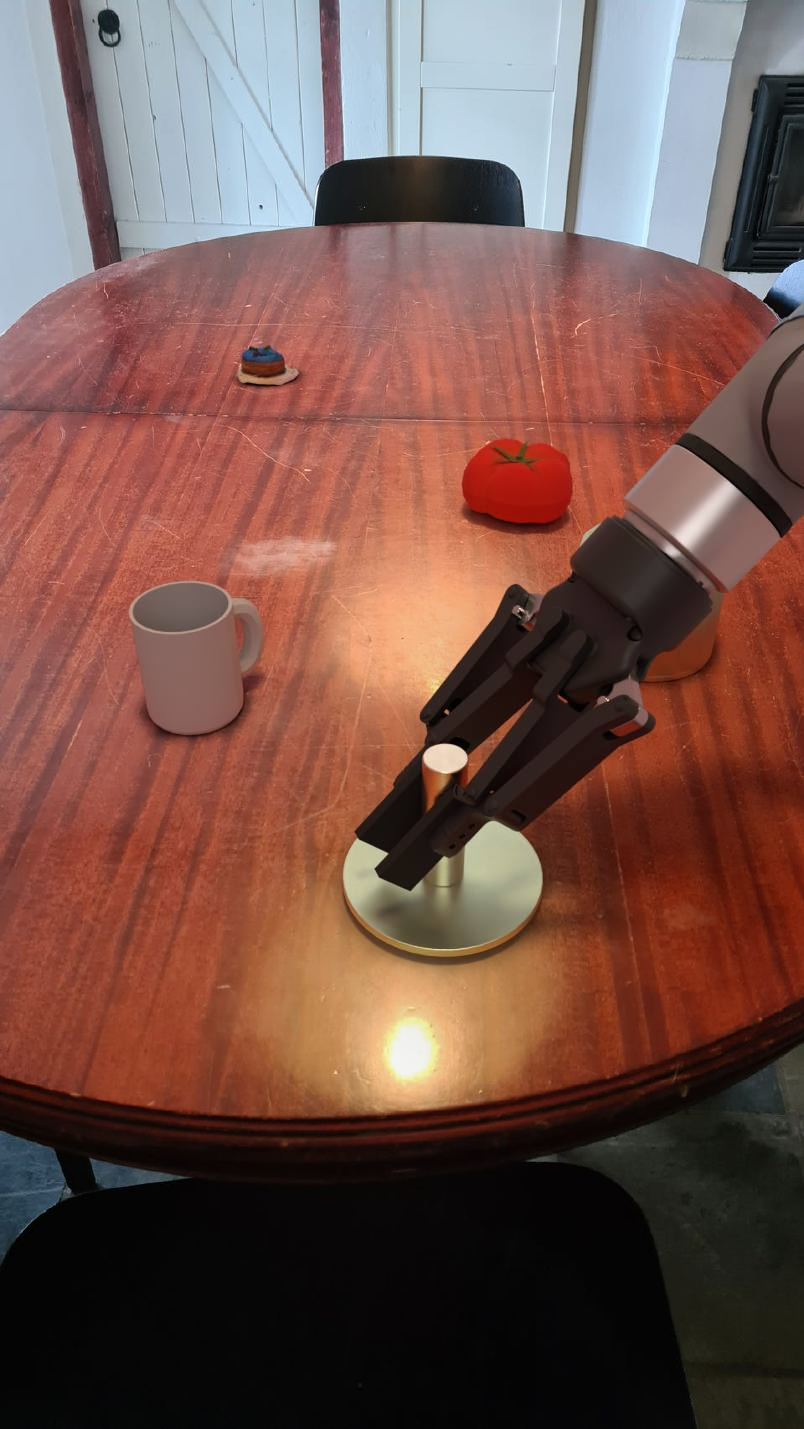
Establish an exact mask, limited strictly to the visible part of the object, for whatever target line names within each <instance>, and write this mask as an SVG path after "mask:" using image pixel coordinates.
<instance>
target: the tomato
mask: <svg viewBox="0 0 804 1429" xmlns="http://www.w3.org/2000/svg"><path fill="white" fill-rule="evenodd" d="M528 443H529V442H528V441H526V442H525V443H523V442H522V441H520V440H519V439H513V438H507V437H505V438H499V439H494V440H493V441H491V442H489V443H487V444H486V445H484V446H483V447H481V448H479V450H477V452H476V453H475V455H474V456H472V457H471V458H470V459H469V460H468V461H467V462H468V463H467V464H466V466H465V468H464V470H463V474H462V479H461V480H462V481H461V489H462V490H461V491H462V496H463V498H464V500H465V502H466V504H467V506H468V507H469V509H470V510H472V511H474V512H476V513H482V514H488V515H490V516H491V517H493V518H495V519H498V520H500V521H501V520H502V521H506V522H511V523H516V524H529V523H533V524H541V525H544V524H547V523H551V522H554V521H555V520H558V519H559V518H560V517H561V516H562V515H563V514H564V513H565V511H566V510H567V508H568V507H569V505H570V504H571V500H572V496H573V492H574V487H573V486H574V484H573V483H574V482H573V475H572V472H571V463H570V461H569V459H568V456H567V455H566V453H563V452H561V451H559V450H558V449H557V448H555V447H554V446H552V445H551V444H548V443H544V442H536V443H535V442H534V443H532V444H529V445H528Z"/></svg>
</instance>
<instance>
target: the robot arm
mask: <svg viewBox="0 0 804 1429" xmlns="http://www.w3.org/2000/svg"><path fill="white" fill-rule="evenodd" d="M622 507H623V509H624V510H625V511H626V512H625V513H624V514H623V515H622V516H621V517H619V516H618V515H616V514H613V515H612V516H611V517H610V516H606V517H605V518H604V519H603V520H602V521H601V522H600V523H601V524H600V525H599V526H598V527H597V528H596V530H595V531H594V532H593V533H592V534H591V535H590V536H589V537H588V538H587V540H586V541H585V542H584V543H583V544H582V545H581V546H580V545H579V546H580V547H579V546H578V548H577V549H576V550H575V552H574V553H572V555H571V557H570V559H569V566H570V569H571V570H572V572H571V574H570V575H569V576H568V577H567V578H566V579H564V581H562V582H561V583H559V584H557V585H555V586H553V587H551V588H550V589H549V590H548V591H547V592H546V593H545V594H541V593H534V592H529V591H528V590H526V589H525V588H524V587H523V586H522V585H520V584H519V583H512V584H511V585H509V587H507V588H506V590H505V592H504V594H503V596H502V597H501V601H500V603H499V604H498V606H497V609H496V611H495V613H494V616H492V619H491V620H490V621H489V623H487V625H486V626H485V628H483V630H482V632H480V634H479V635H478V637H477V638H476V640H475V641H474V642H473V643H472V644H471V645H470V647H469V648H468V649H467V651H466V652H465V653H464V655H463V656H462V657H461V659H460V660H459V661H458V663H457V664H456V665H455V666H454V667H453V669H452V670H451V671H450V673H449V674H447V676H446V677H445V679H444V680H443V682H442V683H441V684H440V686H439V687H438V688H437V689H436V690H435V692H434V693H433V694H432V695H431V697H430V698H429V700H428V701H427V702H426V704H424V706H423V707H422V709H421V710H420V712H419V720H420V722H421V723H422V724H424V725H425V730H426V735H425V738H424V741H423V742H424V746H423V747H422V748H421V749H420V750H419V751H418V753H417V754H416V755H415V756H414V757H413V758H412V759H411V760H410V761H409V762H408V763H407V764H406V766H405V767H403V769H402V770H401V771H400V772H399V773H398V775H396V777H395V778H394V781H393V783H392V786H393V788H392V789H391V790H390V791H389V792H388V793H387V795H386V796H385V797H384V798H383V799H382V800H381V802H380V803H379V804H378V805H377V806H376V807H375V808H374V809H373V810H372V811H371V813H369V814H368V816H366V817H365V819H364V820H363V821H362V822H361V823H360V824H359V825H358V826H357V827H356V829H355V830H354V834H355V836H356V837H357V838H358V839H359V840H361V841H363V842H365V843H367V844H369V845H371V846H374V847H376V848H378V849H380V850H382V851H384V852H386V853H388V854H387V856H386V857H385V858H384V859H383V860H382V861H381V862H380V863H379V864H378V865H377V866H376V867H375V868H374V869H375V871H376V873H377V875H378V877H379V878H381V879H383V880H385V881H387V882H390V883H392V884H394V885H397V886H399V887H401V888H403V889H406V890H408V891H410V892H411V890H412V889H413V888H414V887H415V886H416V885H417V884H418V883H419V882H420V881H421V880H422V879H423V878H424V877H425V876H426V875H427V874H428V873H429V871H430V870H431V869H432V868H433V867H434V866H435V865H436V864H437V863H438V862H439V861H440V860H441V859H442V858H443V857H444V856H445V857H447V858H451V857H453V856H455V855H457V854H458V853H459V851H460V850H461V849H462V848H463V847H464V846H465V845H466V844H467V842H469V841H470V840H471V839H472V838H473V837H474V836H475V835H476V834H477V833H478V832H479V830H480V829H481V828H482V827H483V826H484V825H485V824H487V823H488V822H491V821H496V822H499V823H500V824H502V825H504V826H506V827H508V828H509V829H511V830H513V831H516V832H520V833H521V832H522V831H524V830H525V829H526V828H527V827H528V826H530V825H531V824H532V823H533V822H534V821H535V820H536V819H538V818H539V817H540V816H541V815H542V814H543V813H545V811H547V810H548V809H549V808H550V807H552V806H553V805H554V804H555V803H556V802H557V801H558V800H560V799H561V798H562V797H563V796H564V795H565V794H567V793H568V792H569V791H570V790H571V789H572V788H574V786H576V785H577V784H578V783H579V782H581V780H583V779H584V778H585V777H586V776H587V775H588V774H590V772H592V771H593V770H594V769H595V768H597V767H598V766H599V765H600V764H601V763H603V761H605V760H606V759H607V758H608V757H609V756H611V754H613V753H614V752H615V751H616V750H617V749H618V748H619V747H623V745H626V744H628V743H631V742H632V741H635V740H637V739H639V738H642V737H644V736H647V735H648V734H650V733H651V732H652V731H653V730H654V729H655V727H656V722H657V719H656V717H655V715H653V714H652V713H651V712H649V711H648V710H647V709H646V708H645V706H644V702H643V696H642V691H641V688H640V685H641V683H643V682H644V681H643V680H644V679H645V677H646V675H647V673H648V670H649V667H650V665H651V664H652V662H653V660H654V659H655V657H656V656H658V655H659V654H660V653H662V652H670V651H673V650H675V649H676V648H677V647H678V646H679V645H680V644H681V643H682V642H683V641H684V640H685V639H686V638H687V637H688V636H689V634H690V633H691V632H692V631H693V630H694V629H695V628H696V627H697V626H698V625H699V624H700V623H701V622H702V621H703V620H704V619H705V618H706V617H707V616H708V615H709V614H710V613H711V612H712V611H713V609H712V608H711V606H712V605H713V601H712V600H711V598H710V597H709V596H710V595H711V594H712V593H713V592H714V591H715V590H716V591H718V592H720V593H724V594H728V593H730V592H731V591H732V590H733V589H734V587H736V586H737V585H738V583H740V582H741V580H743V578H745V576H746V575H747V574H748V573H750V571H751V570H752V569H753V568H754V567H755V566H756V565H757V564H758V563H759V561H761V560H762V559H763V558H764V557H765V556H766V555H767V553H768V552H769V551H770V550H771V549H772V548H773V547H774V546H775V545H776V544H777V543H778V542H779V541H780V540H781V539H783V538H784V537H785V536H786V535H787V534H788V533H789V531H791V528H792V527H794V526H795V525H796V524H797V523H798V521H799V520H801V518H802V517H804V301H803V302H801V304H800V305H799V306H798V307H797V308H796V309H795V310H793V312H792V313H790V315H788V316H787V317H786V316H785V317H784V318H782V319H781V320H780V321H779V322H778V323H777V324H775V326H773V328H772V329H771V330H770V333H769V335H768V336H767V337H766V339H765V342H764V343H763V344H762V345H761V346H760V347H759V348H758V349H757V351H756V352H754V354H753V355H752V356H751V357H750V358H749V359H748V360H747V362H745V364H744V365H743V366H742V367H741V368H740V370H738V372H736V374H735V375H734V376H733V377H732V379H730V381H729V382H728V383H727V384H726V385H725V386H724V387H723V388H722V389H721V391H720V392H718V394H717V395H716V396H715V398H714V399H713V400H712V401H711V402H710V403H709V405H707V407H705V409H704V410H703V411H702V412H701V413H700V414H699V416H697V418H696V419H695V420H694V421H693V422H692V423H691V424H690V425H689V427H687V428H686V430H685V431H684V432H683V433H682V435H680V437H679V438H678V439H677V440H676V441H675V442H674V443H673V444H672V445H671V446H670V447H669V448H668V449H667V450H666V451H665V452H664V453H663V454H662V455H661V456H660V457H659V459H658V460H657V461H656V462H655V463H654V464H653V465H652V466H651V467H650V468H649V469H648V471H647V472H646V473H645V474H644V475H643V476H641V478H640V479H639V480H638V481H637V482H636V483H635V485H634V486H632V488H631V489H630V490H629V491H628V492H627V493H626V494H625V495H624V496H623V497H622ZM560 697H561V698H562V699H561V698H560ZM563 699H564V700H565V701H564V700H563ZM529 702H530V703H529ZM528 703H529V704H528ZM527 704H528V705H527ZM526 705H527V707H526V708H525V709H524V710H523V712H522V713H521V715H519V717H518V718H517V719H516V721H515V722H514V724H512V726H511V727H510V728H509V729H508V731H507V732H506V734H505V735H504V737H502V739H501V740H500V741H499V743H498V744H497V746H496V747H495V748H494V749H493V750H492V752H491V753H490V755H489V756H487V759H486V760H485V761H484V762H483V764H482V765H481V766H480V768H479V769H478V770H477V772H476V773H475V774H474V775H473V777H471V779H470V780H469V781H468V785H467V786H466V787H465V788H463V787H461V786H459V785H458V784H455V786H454V789H452V788H451V787H450V788H449V789H448V790H447V791H446V792H445V793H444V794H443V795H442V796H441V798H440V799H439V800H438V801H437V802H436V803H435V804H434V805H433V806H432V807H431V808H430V809H429V810H428V811H427V813H426V814H425V815H424V816H423V817H422V756H423V754H424V752H425V751H426V750H427V749H428V748H430V747H432V746H434V745H437V744H452V745H456V746H459V747H460V748H462V749H463V750H465V751H466V753H467V755H468V756H470V754H472V753H473V752H474V751H475V750H476V749H478V748H479V746H481V745H482V744H483V743H484V742H485V741H486V740H488V739H489V738H490V737H491V736H492V735H493V734H494V733H495V732H496V731H498V730H499V729H500V728H501V727H502V726H503V725H504V724H505V723H507V722H508V721H509V720H510V719H511V718H512V717H513V716H515V714H517V713H518V712H519V711H520V710H521V709H523V708H524V707H525V706H526ZM596 705H597V706H596ZM446 711H448V713H446Z"/></svg>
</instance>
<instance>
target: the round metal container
mask: <svg viewBox="0 0 804 1429" xmlns="http://www.w3.org/2000/svg"><path fill="white" fill-rule="evenodd" d="M601 523H602V522H600V523H598V524H596V525H595V526H593V527H591V528H590V529H589V530H587V531H586V532H584V534H583V535H582V538H581V541H580V543H579V546H578V548H579V547H580V546H581V545H582V544H583V543H584V542H585V541H586V540H587V538H588V537H589V536H590V535H591V534H592V533H593V532H594V531H595V530H596V528H597V527H598V526H599V525H600V524H601ZM724 596H725V593H720V592H718V591H716V590H715V591H714V592H713V593H712V594H711V595H710V596H709V597H710V598H711V600H712V601H713V605H712V606H711V608H712V609H713V611H712V612H711V613H710V614H709V615H708V616H707V617H706V618H705V619H704V620H703V621H702V622H701V623H700V624H699V625H698V626H697V627H696V628H695V629H694V630H693V631H692V632H691V633H690V634H689V636H688V637H687V638H686V639H685V640H684V641H683V642H682V643H681V644H680V645H679V646H678V647H677V648H676V649H675V650H673V651H670V652H662V653H660V654H659V655H658V656H656V657H655V659H654V660H653V662H652V664H651V665H650V667H649V670H648V673H647V675H646V677H645V679H644V680H643V681H642V682H645V683H648V682H649V683H651V682H652V683H657V682H660V683H661V682H670V681H675V680H679V679H684V678H687V677H690V676H691V675H693V674H695V673H697V672H699V671H700V670H701V669H703V668H704V666H706V664H707V663H708V662H709V660H710V658H711V656H712V653H713V649H714V643H715V640H716V634H717V629H718V625H719V621H720V616H721V612H722V611H721V610H722V606H723V601H724Z"/></svg>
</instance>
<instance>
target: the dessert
mask: <svg viewBox="0 0 804 1429" xmlns="http://www.w3.org/2000/svg"><path fill="white" fill-rule="evenodd" d="M240 358H241V360H240V361H241V364H240V367H239V369H238V371H237V379H238V382H240V383H241V384H246V383H250V384H251V383H252V384H257V385H277V386H281V385H284V384H286V383H288V382H290V381H292V380H295V378H297V377H298V375H299V374H300V373H299V370H297V369H296V367H293V368H291V367H290V366H289V365H288V364H286V360H285V357H284V355H283V354H282V353H280V352H278V351H277V350H275V349H274V348H272V346H271V344H267V345H265V346H264V347H255V346H252V345H250V346H249V347H248V349H246V350H244V352H242V354H241V355H240Z"/></svg>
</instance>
